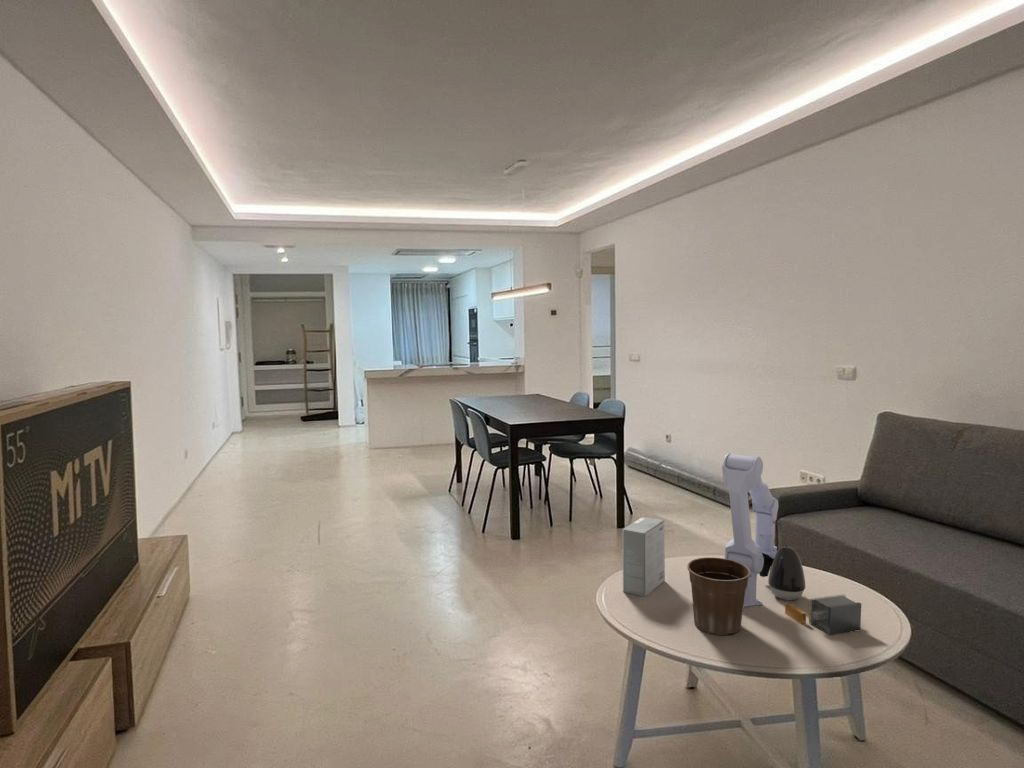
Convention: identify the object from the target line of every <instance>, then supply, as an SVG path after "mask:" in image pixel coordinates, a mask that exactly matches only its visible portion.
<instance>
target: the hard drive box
mask: <svg viewBox="0 0 1024 768" xmlns="http://www.w3.org/2000/svg"><path fill="white" fill-rule="evenodd" d="M621 538H622V592H624V593H627V594H631V595H635V596H640V597H644V598H645V597H646V596H647V595H649V594H650V593H651V592H652V591H653V590H655V589H656V588H657V587H658V586H660V585H661V584H662V583H663V582H665V580H666V579H665V578H666V577H665V576H666V571H665V570H666V569H665V568H666V567H665V566H666V565H665V563H666V562H665V559H666V558H665V556H666V555H665V520H664V519H659V518H654V517H649V516H648V517H647V516H642V517H640V518H639V519H638V518H637V520H636V521H634V522H632V523H631V524H629V525H628V526H625V528H623V529H622V537H621Z"/></svg>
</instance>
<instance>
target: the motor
mask: <svg viewBox="0 0 1024 768" xmlns="http://www.w3.org/2000/svg"><path fill="white" fill-rule="evenodd" d="M784 609H785V610H784V614H785V615H786V616H788V617H789V618H790V619H793V620H794V621H796V622H797V623H799V624H800V625H807V624H806V623H807V613H806V612H805V611H803V610H802V609H800V608H798V607H797V606H795V605H793V604H791V603H790V602H785V606H784ZM808 613H809V614H808V625H812V626H813V625H815V626H816V627H817V628H819V629H821V630H822V631H824V632H825V633H826V634H828V635H830V636H833V635H838V634H839V635H840V634H845V632H846V633H851V632H850V631H853V632H856V631H855V630H860V631H861V624H862V623H861V622H862V621H861V620H862V603H861V602H859V601H858V602H856V601H853V600H852V599H850V598H848V597H847V595H846V594H844V593H842V594H835V595H827V596H820V597H812V598H809V611H808Z"/></svg>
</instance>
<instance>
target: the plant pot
mask: <svg viewBox="0 0 1024 768" xmlns="http://www.w3.org/2000/svg"><path fill="white" fill-rule="evenodd" d="M686 566H687V570H688V572H689V573H688V575H689V581H690V585H691V595H692V596H691V597H692V609H693V621H694V622H693V623H694V625H695V626H697V628H699V629H700V631H702V632H705V633H708V634H710V635H717V636H727V635H729V634H731V635H735V634H738V633H739V632H740V631H741V628H742V620H743V619H742V618H743V613H744V612H743V611H744V607H743V604H744V597H745V589H746V588H747V583H748V577H749V576H750V569H749V568H748V567H746V566H745V565H743V564H741V563H739V562H736V561H733V560H729V559H724V558H721V557H713V556H711V557H699V558H695V559H692V560H690V561H689V562H688V563H687V565H686Z"/></svg>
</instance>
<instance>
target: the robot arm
mask: <svg viewBox="0 0 1024 768" xmlns="http://www.w3.org/2000/svg"><path fill="white" fill-rule="evenodd" d="M763 469H764V463H763V459H762V457H761V456H750V455H744V454H735V453H730V452H728V453H727V454H726V455H725V456H724V458H723V461H722V465H721V470H722V479H723V484H724V485H726V487H727V488H728V495H729V506H730V513H731V526H732V534H733V539H731V540H729V541H728V542H727V543H726V545H725V547H724V558H723V559H729V560H733V561H736V562H739V563H741V564H743V565H745V566H746V567H748V568H749V569H750V576H749V577H748V583H747V588H746V589H745V597H744V604H743V608H745V607H752V606H758V605H759V606H760V605H763V604H764V603H763V601H761V600H759V599H758V598H757V579H758V578H757V577H758V576H757V575H758V574H759V576H760V577H763V578H764V577H769V573H770V569H771V565H772V562H773V559H774V557H775V555H776V553H777V552H778V550H777V549H778V546H775V537H776V534H775V533H776V521H777V517H778V511H779V500H778V499H777V498H776V497H774V496H773V495H772V493H771V491H770V488H769V485H768V484H767V483H766V482H765V481H763V480H762V474H763ZM748 493H749V494H748ZM748 495H750V497H751V499H752V500H751V504H752V511H753V513H755V518H754V519H755V523H754V525H755V526H754V539H752V527H751V516H750V506H749V505H750V504H749V496H748Z"/></svg>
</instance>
